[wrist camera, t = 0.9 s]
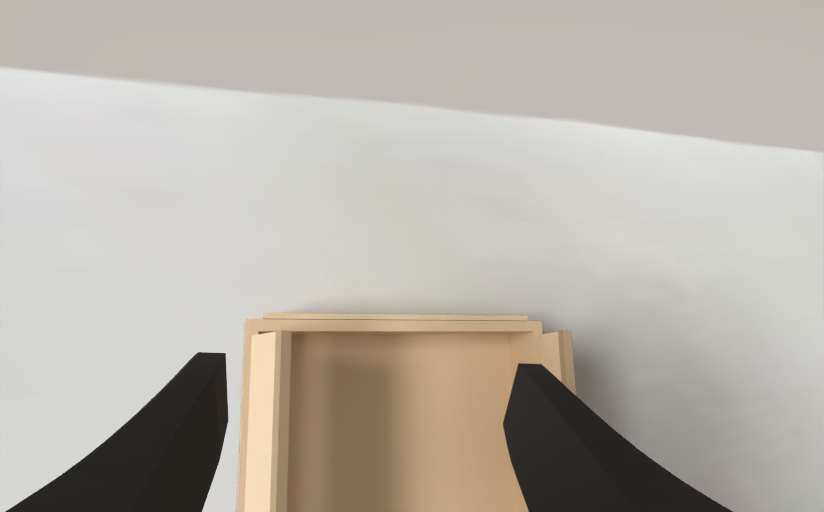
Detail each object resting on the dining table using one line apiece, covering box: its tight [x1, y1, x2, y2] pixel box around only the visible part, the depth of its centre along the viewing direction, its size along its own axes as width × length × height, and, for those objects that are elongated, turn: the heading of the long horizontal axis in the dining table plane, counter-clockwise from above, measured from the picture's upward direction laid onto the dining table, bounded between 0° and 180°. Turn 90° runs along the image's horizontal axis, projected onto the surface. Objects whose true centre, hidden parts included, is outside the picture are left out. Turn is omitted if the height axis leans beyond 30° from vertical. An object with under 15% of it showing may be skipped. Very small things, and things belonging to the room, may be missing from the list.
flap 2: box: [538, 331, 576, 395], centre depth 22 cm, size 12×1×4 cm, turn 1°
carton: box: [237, 313, 543, 512], centre depth 24 cm, size 14×14×3 cm
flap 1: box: [244, 330, 291, 512], centre depth 18 cm, size 12×1×4 cm, turn 1°
